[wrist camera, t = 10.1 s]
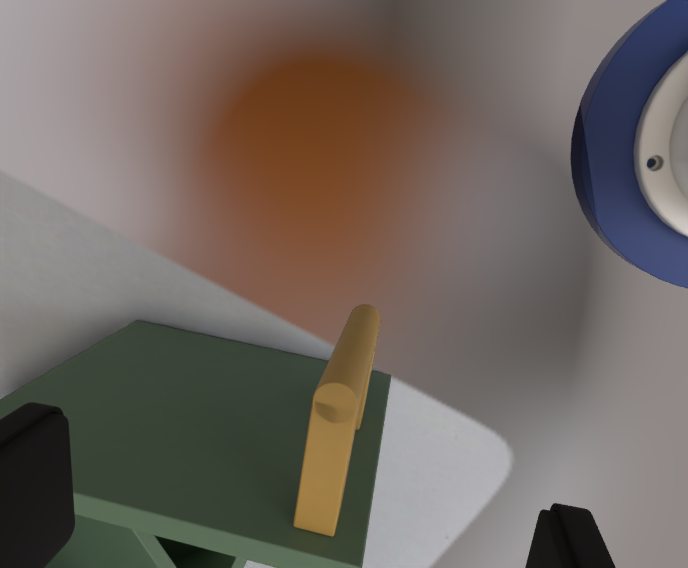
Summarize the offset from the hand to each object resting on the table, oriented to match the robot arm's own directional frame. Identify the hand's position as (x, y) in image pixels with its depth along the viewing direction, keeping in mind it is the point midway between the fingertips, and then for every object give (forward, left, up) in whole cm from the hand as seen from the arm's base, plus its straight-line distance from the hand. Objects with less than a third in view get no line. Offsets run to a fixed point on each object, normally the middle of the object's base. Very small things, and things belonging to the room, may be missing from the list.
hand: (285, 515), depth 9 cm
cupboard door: (+8, +1, -22) cm, 24 cm away
